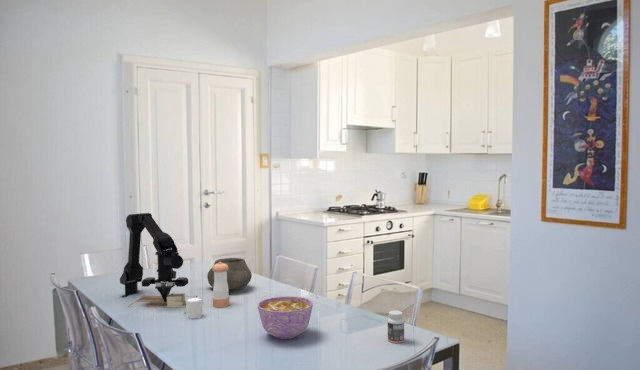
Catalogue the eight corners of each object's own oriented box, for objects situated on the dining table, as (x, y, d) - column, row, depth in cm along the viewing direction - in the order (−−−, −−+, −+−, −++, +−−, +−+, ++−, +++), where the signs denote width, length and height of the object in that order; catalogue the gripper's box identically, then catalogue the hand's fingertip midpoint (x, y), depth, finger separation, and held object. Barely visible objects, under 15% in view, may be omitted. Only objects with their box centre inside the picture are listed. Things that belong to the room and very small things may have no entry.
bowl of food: (284, 322, 199) (284, 293, 198) (324, 333, 186) (324, 301, 186) (246, 337, 183) (245, 305, 183) (287, 349, 171) (286, 315, 170)
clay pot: (200, 289, 253) (199, 259, 252) (238, 282, 266) (238, 254, 265) (220, 298, 235) (219, 266, 235) (260, 290, 248) (259, 260, 248)
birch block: (172, 302, 225) (171, 293, 225) (185, 302, 224) (185, 293, 224) (167, 306, 219) (166, 297, 219) (180, 306, 218) (180, 297, 218)
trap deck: (143, 299, 237) (143, 295, 236) (198, 299, 235) (197, 295, 235) (126, 310, 219) (126, 307, 218) (185, 310, 217) (185, 307, 217)
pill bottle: (386, 338, 180) (385, 310, 180) (402, 337, 181) (401, 309, 180) (389, 343, 175) (389, 315, 174) (406, 343, 175) (405, 314, 175)
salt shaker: (225, 308, 220) (224, 263, 219) (210, 307, 222) (208, 263, 221) (232, 303, 227) (231, 260, 226) (216, 302, 229) (215, 260, 228)
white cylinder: (198, 319, 205) (198, 302, 205) (182, 318, 206) (182, 301, 206) (206, 314, 212) (205, 297, 211) (190, 313, 213) (190, 296, 213)
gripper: (191, 262, 229) (192, 296, 230) (150, 262, 230) (151, 296, 231) (183, 267, 218) (184, 303, 218) (140, 267, 219) (141, 303, 219)
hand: (165, 301), depth 222 cm, fingers closed
